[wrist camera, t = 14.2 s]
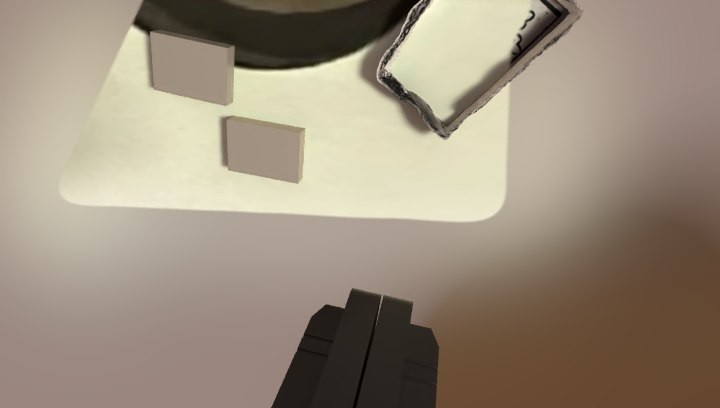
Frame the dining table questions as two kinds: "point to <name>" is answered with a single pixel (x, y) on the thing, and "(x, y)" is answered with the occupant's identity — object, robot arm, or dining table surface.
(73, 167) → the dining table surface
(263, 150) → the beige rectangular block
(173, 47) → the beige flat slab
